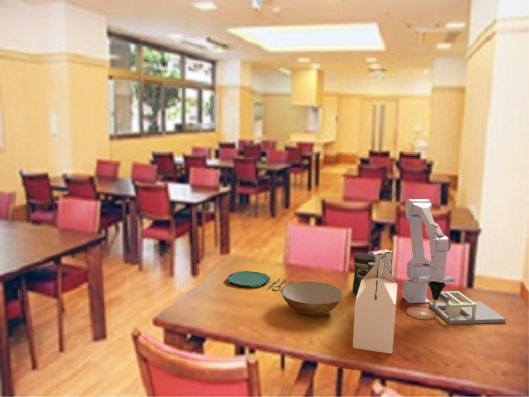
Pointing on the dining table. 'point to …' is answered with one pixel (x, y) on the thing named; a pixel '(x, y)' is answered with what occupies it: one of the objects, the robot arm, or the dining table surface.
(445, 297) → the cream slatted rack
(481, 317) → the puzzle board
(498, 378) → the dining table surface
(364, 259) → the coffee jar
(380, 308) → the gable box
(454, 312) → the cream block
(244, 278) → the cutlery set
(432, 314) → the terracotta dish
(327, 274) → the dining table surface
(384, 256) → the candy bar box
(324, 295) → the bowl
